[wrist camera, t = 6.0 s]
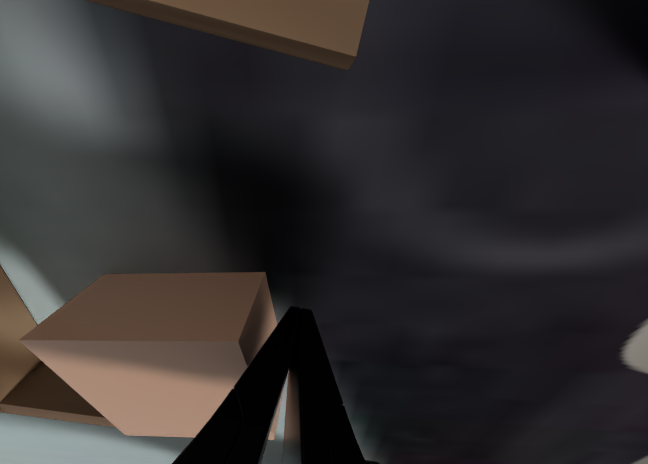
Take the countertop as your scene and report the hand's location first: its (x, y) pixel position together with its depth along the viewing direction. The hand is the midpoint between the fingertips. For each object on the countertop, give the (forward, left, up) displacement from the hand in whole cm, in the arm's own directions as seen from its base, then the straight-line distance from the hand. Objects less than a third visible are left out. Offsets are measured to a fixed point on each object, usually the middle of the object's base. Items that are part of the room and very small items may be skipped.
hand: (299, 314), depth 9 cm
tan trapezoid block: (-4, +4, -2) cm, 6 cm away
